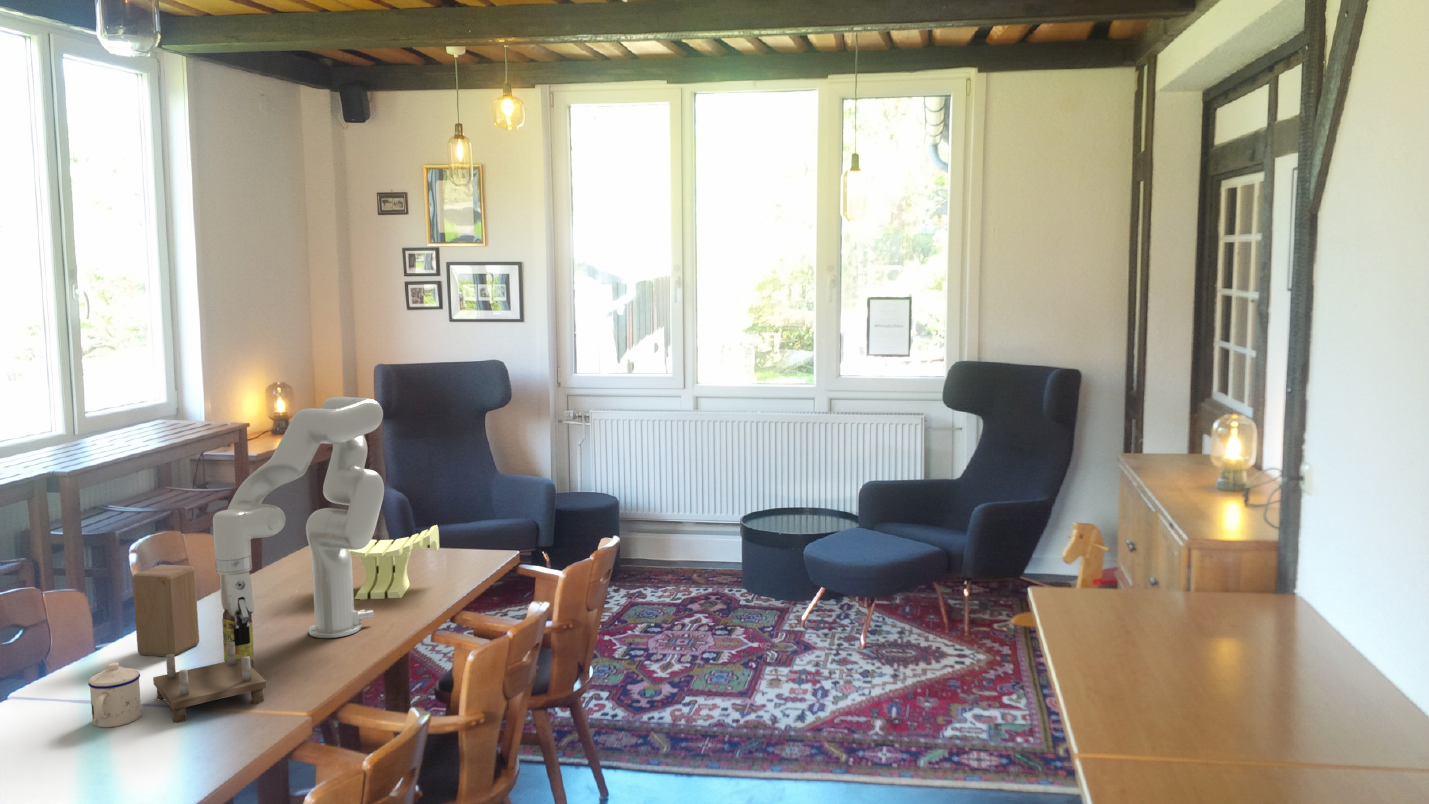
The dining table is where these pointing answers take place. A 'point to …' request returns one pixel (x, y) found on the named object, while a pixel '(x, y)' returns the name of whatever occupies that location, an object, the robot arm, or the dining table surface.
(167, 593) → the wooden block
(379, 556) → the slatted curved stool
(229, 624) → the sauce bottle
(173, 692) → the peg shelf
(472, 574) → the dining table surface
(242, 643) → the robot arm
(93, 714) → the teacup with lid
